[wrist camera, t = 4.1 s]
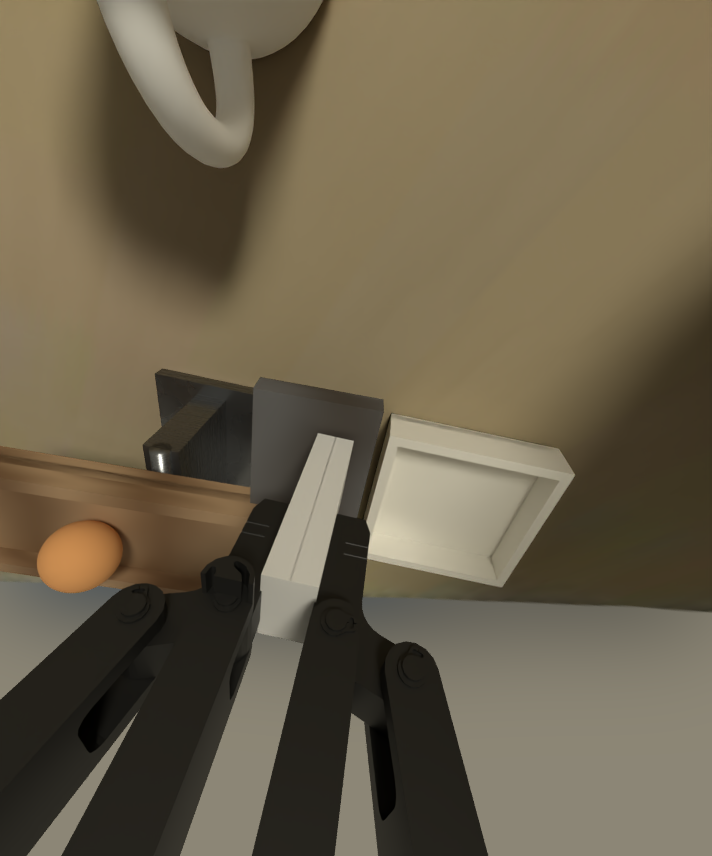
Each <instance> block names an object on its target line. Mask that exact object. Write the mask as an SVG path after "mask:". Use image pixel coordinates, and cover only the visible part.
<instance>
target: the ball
mask: <svg viewBox="0 0 712 856" xmlns="http://www.w3.org/2000/svg"><path fill="white" fill-rule="evenodd" d="M122 554H123V545H122V541H121V538H120V536H119V534H118V533H117V532H116V531H115V530H114V529H113V528H112V527H111V526H109V525H107V524H105V523H103V522H99V521H94V520H83V521H77V522H73V523H70V524H68V525H65V526H63V527H61V528H60V529H58V530H57V531H55V532H54V533H53V534H52V535H50V536H49V537H48V539H47V540H46V541H45V542H44V544H43V545H42V547H41V549H40V551H39V554H38V558H37V570H38V573H39V576H40V578H41V579H42V581H43V582H44V583H45V584H46V585H47V586H49V587H50V588H52V589H54V590H56V591H59V592H64V593H79V592H84V591H87V590H90V589H93V588H95V587H97V586H99V585H100V584H102V583H103V582H105V581H106V580H107V579H108V578H110V577H111V575H112V574H113V573H114V572H115V571H116V569H117V568H118V566H119V564H120V561H121V558H122Z"/></svg>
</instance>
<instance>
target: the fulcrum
mask: <svg viewBox="0 0 712 856" xmlns="http://www.w3.org/2000/svg"><path fill="white" fill-rule="evenodd" d="M155 379H156V387H157V394H158V402H159V409H160V417H161V425H162V427H161V428H160V429H159V430H158V431H157V432H156V433H155V434H154V435H153V436H152V437H151V438H149V439H148V440H147V441H146V442H145V443H144V444H143V451H144V457H145V462H146V468H147V470H148V471H154V472H160V473H166V474H172V475H178V476H184V477H190V478H196V479H202V480H208V481H214V482H220V483H226V484H232V485H238V486H244V487H250V486H251V450H252V414H253V388H251V387H246V386H242V385H237V384H232V383H227V382H223V381H218V380H213V379H209V378H204V377H199V376H195V375H190V374H185V373H180V372H176V371H171V370H166V369H161V370H159V371H158V372H157V373H155Z"/></svg>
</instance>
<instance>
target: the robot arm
mask: <svg viewBox="0 0 712 856" xmlns="http://www.w3.org/2000/svg"><path fill="white" fill-rule="evenodd" d="M353 443H354V441H352V440H347V439H343V438H338V437H333V436H329V435H324V434H320V433H318V435H317V437H316V440H315V442H314V444H313V447H312V449H311V452H310V454H309V457H308V459H307V462H306V464H305V467H304V469H303V472H302V474H301V477H300V479H299V482H298V484H297V487H296V489H295V492H294V494H293V497H292V499H291V502H290V504H287V503H283V502H278V501H274V500H269V499H264V500H262V501H261V502H260V503H259V504H258V505H256V506H255V507H254V508H253V510H252V512H251V514H250V515H249V517H248V519H247V522H246V523H245V525H244V527H243V529H242V532H241V533H240V535H239V537H238V539H237V541H236V543H235V545H234V546H233V548H232V550H231V552H230V554H229V556H225V557H221V558H217V559H215V560H214V561H212V562H210V563H209V564H207V565H206V566H205V568H204V569H203V570H202V571H201V572H200V575H201V586H202V588H200V589H197V590H194V591H188V592H179V593H168V594H163V591H162V590H161V589H160V588H158V587H157V586H156V585H152V584H149V583H141V584H134V585H131V586H129V587H126V588H123V589H122V590H121V591H119V592H118V593H116V594H115V595H114V596H112V597H111V598H110V599H109V600H108V601H107V602H106V603H105V604H104V605H103V606H102V607H100V608H99V609H98V610H97V611H96V612H95V613H94V614H93V615H92V616H91V617H90V618H88V619H87V620H86V621H85V622H84V623H83V624H82V625H81V626H80V627H79V628H78V629H77V630H75V632H73V633H72V634H71V635H70V636H69V637H68V638H67V639H66V640H65V641H64V642H62V644H60V645H59V646H58V647H57V648H56V649H55V650H54V651H53V652H52V653H51V654H50V655H48V656H47V657H46V658H45V659H44V660H43V661H42V662H41V663H40V664H39V665H38V666H37V667H36V668H34V669H33V670H32V671H31V672H30V673H29V674H28V675H27V676H26V677H25V678H24V679H23V680H22V681H20V682H19V683H18V684H17V685H16V686H15V687H14V688H13V689H12V690H11V691H9V692H8V693H7V694H6V695H5V696H4V697H3V698H2V699H1V700H0V856H27V854H28V853H29V852H30V851H31V849H32V848H33V847H34V845H35V844H36V843H37V841H38V840H39V839H40V838H41V836H42V835H43V834H44V832H45V831H46V830H47V828H48V827H49V826H50V825H51V823H52V822H53V821H54V819H55V818H56V817H57V816H58V814H59V813H60V812H61V810H62V809H63V808H64V807H65V805H66V804H67V803H68V801H69V800H70V799H71V798H72V796H73V795H74V794H75V792H76V791H77V790H78V788H79V787H80V786H81V785H82V783H83V782H84V781H85V779H86V778H87V777H88V776H89V774H90V773H91V772H92V770H93V769H94V768H95V766H96V765H97V764H98V763H99V761H100V760H101V758H102V757H103V756H104V755H105V753H106V752H107V751H108V750H109V748H110V747H111V746H112V745H113V743H114V742H115V741H116V739H117V738H118V737H119V735H120V734H121V733H122V732H123V730H124V729H125V728H126V726H127V725H128V724H129V722H130V721H131V720H132V718H133V717H134V716H135V715H136V713H137V712H138V711H139V712H138V714H137V715H136V717H135V719H134V721H133V723H132V725H131V727H130V729H129V730H128V732H127V734H126V736H125V738H124V740H123V742H122V743H121V745H120V747H119V749H118V751H117V753H116V755H115V757H114V758H113V760H112V762H111V764H110V766H109V768H108V770H107V771H106V774H105V775H104V777H103V779H102V781H101V783H100V785H99V786H98V788H97V790H96V792H95V794H94V796H93V798H92V800H91V801H90V803H89V805H88V807H87V809H86V811H85V813H84V815H83V816H82V818H81V820H80V822H79V824H78V826H77V828H76V830H75V831H74V834H73V835H72V837H71V839H70V841H69V843H68V845H67V846H66V848H65V850H64V852H63V854H62V856H180V854H181V851H182V848H183V845H184V842H185V839H186V837H187V834H188V831H189V828H190V825H191V823H192V819H193V817H194V814H195V811H196V808H197V806H198V803H199V800H200V797H201V794H202V791H203V788H204V786H205V783H206V780H207V777H208V774H209V772H210V768H211V766H212V763H213V760H214V757H215V755H216V751H217V749H218V746H219V743H220V740H221V738H222V734H223V732H224V729H225V726H226V723H227V720H228V717H229V715H230V712H231V709H232V706H233V703H234V701H235V698H236V695H237V692H238V689H239V686H240V684H241V681H242V678H243V675H244V672H245V670H246V666H247V664H248V661H249V658H250V655H251V649H252V642H253V639H254V636H255V633H256V631H257V628H258V633H260V634H265V635H269V636H273V637H278V638H282V639H286V640H291V641H295V642H300V643H304V644H303V648H302V652H301V656H300V661H299V665H298V669H297V673H296V677H295V681H294V685H293V690H292V693H291V697H290V702H289V706H288V710H287V714H286V718H285V722H284V726H283V730H282V734H281V738H280V743H279V747H278V751H277V755H276V759H275V763H274V767H273V771H272V776H271V780H270V784H269V788H268V792H267V796H266V800H265V804H264V808H263V812H262V817H261V821H260V825H259V829H258V833H257V837H256V841H255V845H254V849H253V854H252V856H334V855H335V846H336V838H337V837H336V836H337V828H338V821H339V812H340V803H341V795H342V787H343V778H344V769H345V761H346V753H347V744H348V735H349V727H350V719H351V713H352V714H354V715H355V716H357V717H358V718H360V719H361V720H362V721H364V724H365V734H366V743H367V753H368V762H369V772H370V781H371V791H372V800H373V810H374V820H375V829H376V839H377V848H378V856H488V853H487V850H486V846H485V843H484V839H483V835H482V831H481V827H480V823H479V820H478V816H477V812H476V809H475V806H474V801H473V797H472V793H471V790H470V786H469V783H468V779H467V775H466V771H465V767H464V764H463V760H462V756H461V753H460V749H459V745H458V741H457V737H456V734H455V730H454V726H453V722H452V719H451V715H450V711H449V707H448V704H447V701H446V696H445V693H444V689H443V685H442V681H441V678H440V674H439V670H438V668H437V665H436V663H435V661H434V659H433V657H432V656H431V655H430V654H429V653H428V651H427V650H426V649H424V648H423V647H421V646H419V645H418V644H416V643H411V642H402V643H398V644H396V645H395V644H394V643H392V642H391V641H389V640H387V639H386V638H384V637H382V636H381V635H379V634H378V633H377V632H375V631H374V630H373V629H372V628H371V627H370V625H369V624H368V623H367V621H366V619H365V617H364V614H363V610H362V597H363V589H364V581H365V573H366V564H367V556H368V547H369V540H370V531H369V528H368V525H367V522H366V520H363V519H358V518H354V517H349V516H345V515H341V514H338V511H339V507H340V503H341V499H342V494H343V490H344V485H345V480H346V476H347V471H348V466H349V462H350V457H351V452H352V447H353Z"/></svg>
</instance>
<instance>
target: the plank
mask: <svg viewBox="0 0 712 856" xmlns="http://www.w3.org/2000/svg"><path fill="white" fill-rule="evenodd" d="M383 413H384V405H383V399H378V398H372V397H367V396H361V395H356V394H350V393H345V392H339V391H334V390H328V389H323V388H317V387H312V386H306V385H301V384H295V383H290V382H284V381H279V380H273V379H268V378H262V377H260V379H259V380H258V382H257V383H256V385H255V386H254V388H253V414H252V450H251V486H250V487H244V486H238V485H232V484H226V483H220V482H214V481H208V480H202V479H196V478H190V477H184V476H178V475H172V474H166V473H160V472H154V471H148V470H142V469H136V468H130V467H124V466H118V465H112V464H105V463H99V462H93V461H87V460H81V459H75V458H69V457H63V456H57V455H51V454H45V453H39V452H33V451H27V450H21V449H15V448H9V447H3V446H0V571H3V572H10V573H17V574H24V575H30V576H37V577H40V576H39V573H38V570H37V558H38V554H39V551H40V549H41V547H42V545H43V544H44V542H45V541H46V540H47V539H48V537H49V536H50V535H52V534H53V533H54V532H55V531H57V530H58V529H60V528H61V527H63V526H65V525H68V524H70V523H73V522H77V521H83V520H94V521H99V522H103V523H105V524H107V525H109V526H111V527H112V528H113V529H114V530H115V531H116V532H117V533H118V534H119V536H120V538H121V541H122V545H123V554H122V558H121V561H120V564H119V566H118V568H117V569H116V571H115V572H114V573H113V574H112V575H111V577H110V578H108V579H107V580H106V581H105V582H103V583H102V584H100V585H99V586H104V587H112V588H119V589H123V588H126V587H129V586H131V585H134V584H141V583H149V584H152V585H156V586H157V587H158V588H160V589H161V590H162V591H163V594H168V593H179V592H188V591H194V590H197V589H200V588H202V586H201V575H200V572H201V571H202V570H203V569H204V568H205V566H206V565H207V564H209V563H210V562H212V561H214V560H215V559H217V558H221V557H225V556H229V554H230V552H231V550H232V548H233V546H234V545H235V543H236V541H237V539H238V537H239V535H240V533H241V532H242V529H243V527H244V525H245V523H246V522H247V519H248V517H249V515H250V514H251V512H252V510H253V508H254V507H255V506H256V505H258V504H259V503H260V502H261V501H262V500H264V499H269V500H274V501H278V502H283V503H287V504H290V502H291V499H292V497H293V494H294V492H295V489H296V487H297V484H298V482H299V479H300V477H301V474H302V472H303V469H304V467H305V464H306V462H307V459H308V457H309V454H310V452H311V449H312V447H313V444H314V442H315V440H316V437H317V435H318V433H320V434H324V435H329V436H333V437H338V438H343V439H347V440H352V441H354V443H353V447H352V452H351V457H350V462H349V466H348V471H347V476H346V480H345V485H344V490H343V494H342V499H341V503H340V507H339V511H338V514H341V515H345V516H349V517H354V518H357V515H358V511H359V507H360V504H361V500H362V496H363V492H364V488H365V484H366V480H367V476H368V472H369V468H370V464H371V460H372V456H373V452H374V448H375V444H376V440H377V436H378V432H379V428H380V424H381V420H382V417H383Z"/></svg>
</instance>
